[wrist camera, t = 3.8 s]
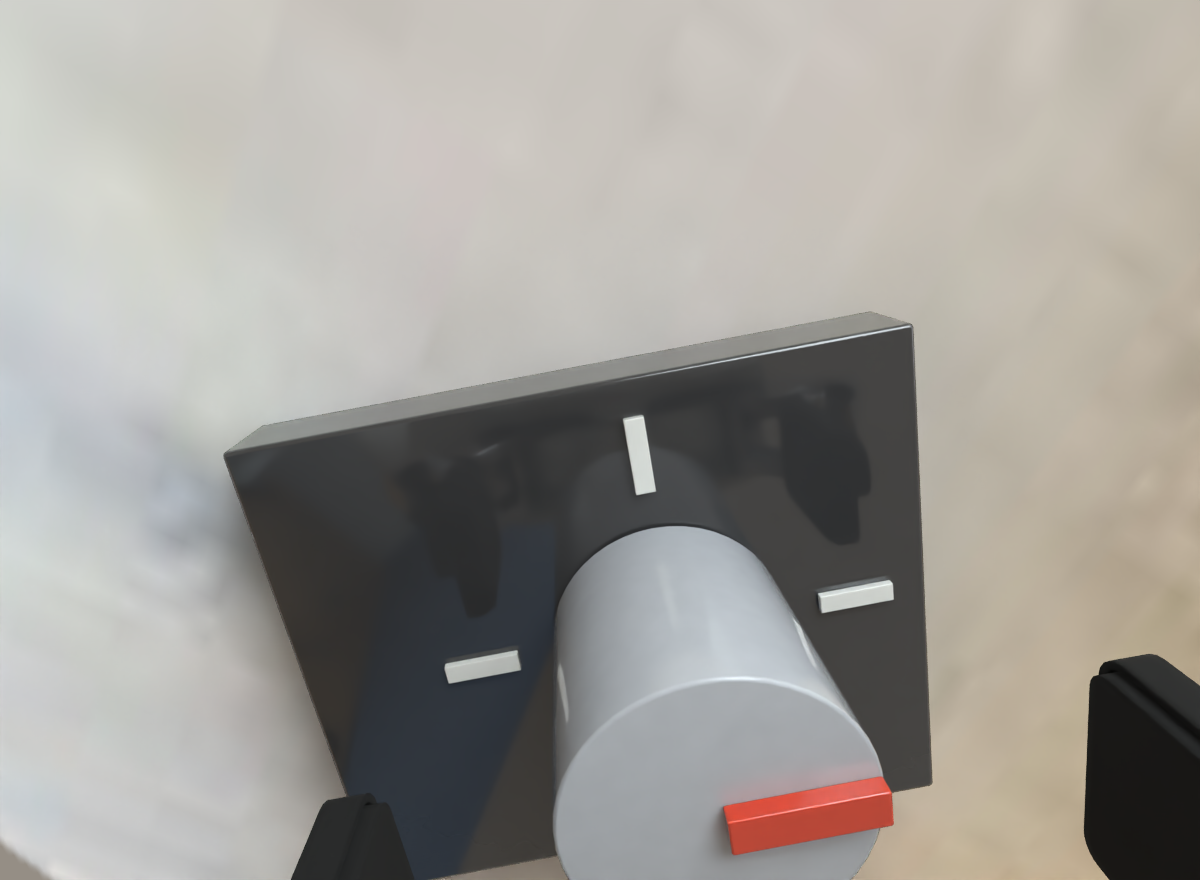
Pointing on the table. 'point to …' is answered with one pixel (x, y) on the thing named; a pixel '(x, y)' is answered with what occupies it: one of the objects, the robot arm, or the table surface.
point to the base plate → (582, 554)
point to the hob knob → (701, 724)
